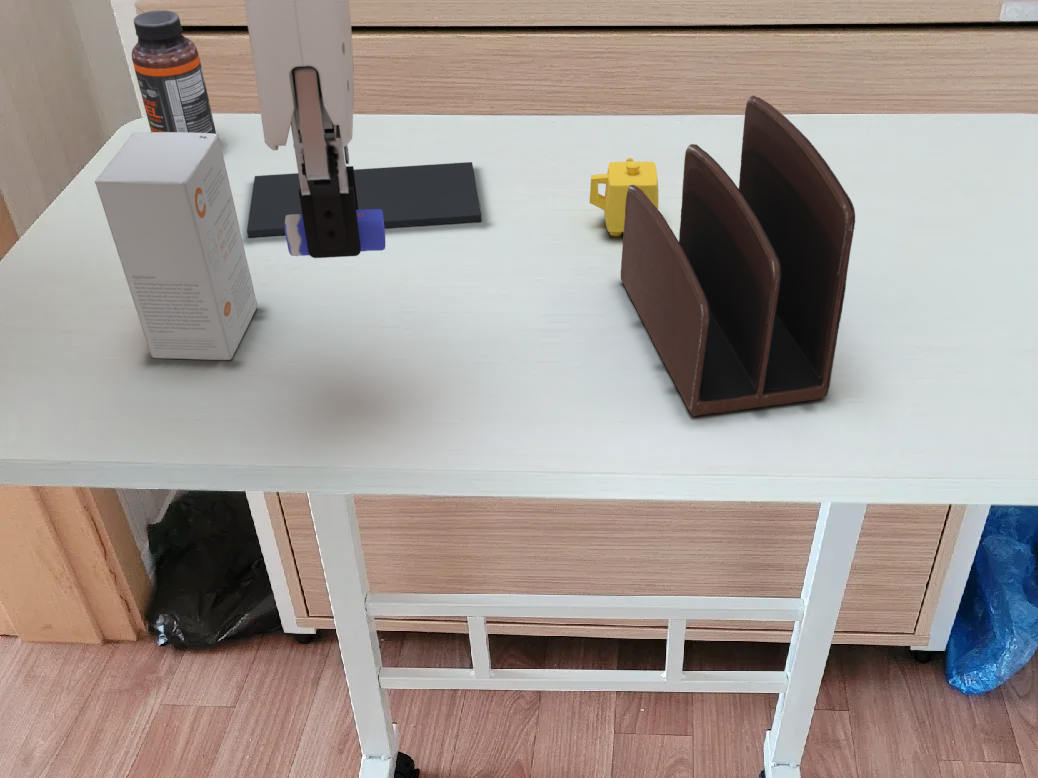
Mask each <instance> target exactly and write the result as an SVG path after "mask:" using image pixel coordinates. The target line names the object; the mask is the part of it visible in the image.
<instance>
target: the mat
mask: <svg viewBox="0 0 1038 778" xmlns="http://www.w3.org/2000/svg"><path fill="white" fill-rule="evenodd" d="M474 171H475V170H474V165H473V162H472V161H467V162H466V161H465V162H451V163H450V162H449V163H435V164H421V165H419V164H418V165H406V166H405V165H403V166H388V167H374V168H373V167H372V168H359V169H357V168H356V169H354V175H355V184H356V192H357V200H358V208H359V209H381V210H382V211H383V218H384V227H385V229H389V228H405V227H418V226H431V225H432V226H434V225H435V226H436V225H449V224H462V223H463V224H464V223H479V222H482V214H481V207H480V201H479V194H478V189H477V183H476V177H475V172H474ZM299 189H301V187H300V181H299V174H298V172H295V173H281V174H280V173H278V174H266V175H265V174H264V175H254V179H253V186H252V192H251V200H250V206H249V213H248V222H247V229H246V233H247V237H248V238H254V237H255V238H257V237H271V236H286V235H285V227H284V226H285V218H286V215H292V214H302V210H301V203H300V197H299Z"/></svg>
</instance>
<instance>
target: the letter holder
mask: <svg viewBox="0 0 1038 778" xmlns="http://www.w3.org/2000/svg"><path fill="white" fill-rule="evenodd" d="M684 153H685V154H684V162H683V163H684V164H683V178H682V190H681V191H682V192H681V193H682V195H681V207H680V221H679V233H678V236H679V237H678V238H677V236H676V235H675V233H674V231H673V229H672V228H671V227H670V225H669V223H668V222H667V220H666V218H665V217H664V216H663V214H662V213H661V211H660V210H659V208H658V209H657V208H656V207H655V205H654V204H653V203H652V202H651V201H650V200H649V198H648V197H647V196H646V195H645V194H644V192H643V191H642V190H641V189H639V188H638V187H637V186H635V185H630V186H629V188H628V191H627V196H626V204H625V220H624V232H623V233H622V234H623V237H622V238H623V239H622V248H621V249H622V250H621V260H620V261H621V263H620V280H621V283H622V284H623V286H624V288H625V290H626V291H627V294H628V295H629V298H630V299H631V302H632V303H633V305H634V307H635V309H636V311H637V313H638V315H639V317H640V319H641V322H642V323H643V325H644V326H645V329H646V331H647V333H648V335H649V336H650V339H651V340H652V342H653V344H654V346H655V348H656V350H657V353H658V354H659V356H660V358H661V360H662V362H663V364H664V366H665V369H666V370H667V371H668V373H669V375H670V378H671V379H672V381H673V383H674V384H675V387H676V388H677V391H678V392H679V394H680V396H681V397H682V400H683V401H684V403H685V404H684V405H685V406H686V407H687V409H688V411H689V413H690V414H691V415H692V416H693V417H696V416H704V415H710V414H718V413H728V412H734V411H742V410H743V411H744V410H748V409H757V408H764V407H772V406H780V405H787V404H793V403H801V402H808V401H816V400H817V401H818V400H823V399H825V398H826V397H827V396H828V394H829V390H830V386H831V381H832V372H833V366H834V360H835V354H836V349H837V342H838V341H837V340H838V334H839V329H840V323H841V319H842V314H843V313H842V312H843V308H844V302H845V301H844V300H845V296H846V295H845V294H846V289H847V288H846V287H847V279H848V278H847V277H848V272H849V271H848V270H849V263H850V255H851V250H852V244H853V239H854V232H855V225H856V210H855V207H854V206H855V205H854V203H853V202H852V199H851V198H850V196H849V195H848V193H847V192H846V190H845V189H844V187H843V185H842V184H841V182H840V181H839V178H838V177H837V175H836V174H835V173H834V171H833V170H832V169H831V166H830V165H829V164H828V163H827V161H826V160H825V158H824V157H823V156H822V154H821V153H820V152H819V151H818V150H817V148H816V147H815V145H813V144H812V142H811V141H810V140H809V139H808V138H807V137H806V136H805V135H804V133H802V131H800V129H798V127H796V125H794V123H792V122H791V121H790V120H789V119H788V118H787V117H786V116H785V115H784V114H783V113H781V112H780V111H779V110H778V109H777V108H776V107H775V106H773V105H772V104H770V103H769V102H767V101H766V100H764V99H762V98H761V97H759V96H755V95H751V96H750V97H749V98H748V99H747V101H746V104H745V110H744V120H743V132H742V143H741V155H740V169H739V181H738V186H737V184H736V183H735V182H734V180H733V179H732V178H731V177H730V175H729V174H728V173H727V171H725V169H724V168H722V166H721V165H720V164H719V162H717V160H716V159H714V158H713V156H711V155H710V153H708V152H707V151H705V150H704V149H702V147H700V146H699V145H698V144H693V143H690V144H689V145H688V146H687V148H686V150H685V152H684Z"/></svg>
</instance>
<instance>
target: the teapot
mask: <svg viewBox="0 0 1038 778" xmlns="http://www.w3.org/2000/svg"><path fill="white" fill-rule="evenodd" d="M599 184H601V185H602V184H605V191H604V195H602V194H600V193H599ZM630 185H635V186H637V187H638V188H639V189H641V190H642V191H643V192H644V194H645V195H646V196H647V197H648V198H649V200H650V201H651V202H652V203H653V204H654V205H655V207H656V208H657V209H658V210H659V180H658V172H657V164H656V163H655V162H654V161H634V158H632V157H631V158H628V157H627V158H626V160H625V161H610V162H609V163H608V167H607V173H601V174H591V175H590V189H589V204H591V205H593V206H595V207H597V208H599V209H601V210H603V211H604V212H603V213H604V220H605V225H606V231H607V232H608V233H609V235H610V236H613V237H620V236H621V235H622V234H623V233H624V220H625V204H626V196H627V191H628V188H629V186H630Z"/></svg>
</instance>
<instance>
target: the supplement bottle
mask: <svg viewBox="0 0 1038 778" xmlns="http://www.w3.org/2000/svg"><path fill="white" fill-rule="evenodd" d="M133 26H134V29H135V35H136V36H137V43H136V44H135V45H134V46H133V48H132V49H131V60H132V65H133V69H134V72H135V76H136V80H137V83H138V88H139V92H140V95H141V99H142V102H143V106H144V111H145V115H146V117H147V121H148V125H149V129H150V132H188V133H212V134H217V131H216V130H217V129H216V127H215V126H216V125H215V122H214V117H213V113H212V108H211V104H210V99H209V94H208V89H207V85H206V80H205V75H204V72H203V67H202V63H201V59H200V53H199V51H198V48H197V46H196V44H195V43H194V42H193V40H191V39H190V38H188V37H186V36H184V35H183V34H182V32H183V27H182V24H181V20H180V16H179V14H178V13H177V12H175V11H172V10H165V9H163V10H160V9H157V10H149V11H145V12H143V13H142V12H141V13H140V14H138V15H136V16H135V17H134V18H133Z"/></svg>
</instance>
